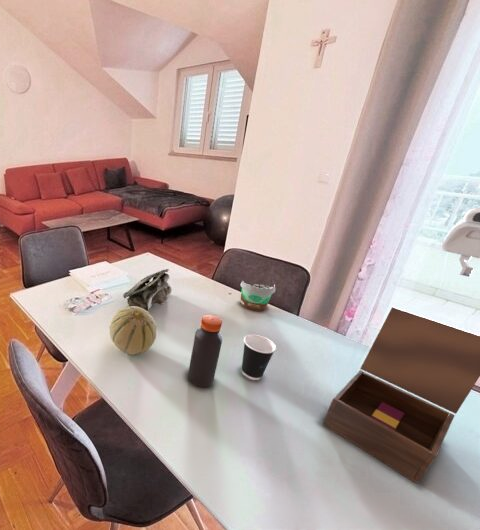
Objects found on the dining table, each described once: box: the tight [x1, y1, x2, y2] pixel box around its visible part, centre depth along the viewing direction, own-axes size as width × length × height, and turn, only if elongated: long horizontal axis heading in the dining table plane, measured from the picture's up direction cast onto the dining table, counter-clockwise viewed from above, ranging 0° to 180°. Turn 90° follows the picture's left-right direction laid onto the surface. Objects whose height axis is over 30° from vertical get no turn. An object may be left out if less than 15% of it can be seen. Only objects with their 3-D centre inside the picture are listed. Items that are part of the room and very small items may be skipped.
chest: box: [321, 369, 456, 485], centre depth 71 cm, size 17×17×8 cm
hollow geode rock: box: [122, 268, 173, 312], centre depth 124 cm, size 28×13×15 cm
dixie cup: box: [241, 334, 277, 381], centre depth 88 cm, size 8×8×11 cm
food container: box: [239, 280, 276, 312], centre depth 121 cm, size 12×6×10 cm, turn 73°
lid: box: [359, 306, 480, 415], centre depth 73 cm, size 17×17×5 cm
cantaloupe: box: [109, 306, 157, 356], centre depth 98 cm, size 15×15×15 cm
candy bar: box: [371, 402, 404, 431], centre depth 72 cm, size 4×11×4 cm, turn 124°
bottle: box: [187, 314, 223, 388], centre depth 84 cm, size 7×7×20 cm
